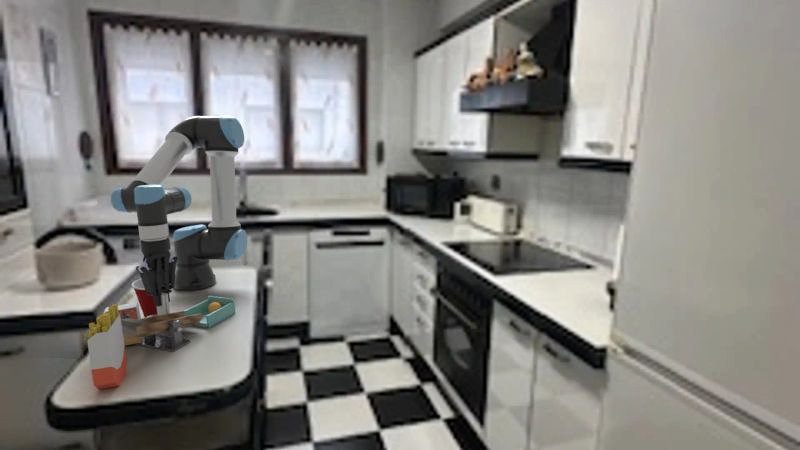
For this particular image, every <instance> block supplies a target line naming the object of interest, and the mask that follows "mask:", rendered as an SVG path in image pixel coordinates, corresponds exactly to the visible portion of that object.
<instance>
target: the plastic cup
mask: <svg viewBox="0 0 800 450" xmlns="http://www.w3.org/2000/svg"><path fill="white" fill-rule="evenodd" d="M131 287H132V289H134V292H135V295H136V297H137V300H138V301H137V302H138V304H139V308H140V310H141V311H142V314H143V318H145V317H147V316H150V315H156V314H157V306H155V303H154V296H150V295H147V294H146V291H145V288H144V285H143V282H142V279H141V278H140V279H139V278H138V279H137V280H134V281H133V282H132V283H131Z"/></svg>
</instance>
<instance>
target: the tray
mask: <svg viewBox="0 0 800 450" xmlns="http://www.w3.org/2000/svg"><path fill="white" fill-rule="evenodd" d="M213 302H217V303H219V304H220V305H221V307H222V308H220V309H218V310H216V311H214V312H212V313H209V311H208V307H209V305H210V304H211V303H213ZM235 304H236V303H235V298H230V297H223V296H216V295H215V296H214V295H208V296H207V299H205V300H204V301H202V302H201V301H200V302H199V303H196V304H195V305H193V306H191V307H189V308H187V309H185V310H183V311H184V317H185V316H190V315H195V314H199V313H202V320H200V323H199V324H194V325H190V326H193V327H200V328H203V329H204V328H205V329H211V328H213V327H214V326H216V325H217V324H220V323H221V322H222V321H224V320H226V319H228V318H230V317H232V316H234V315H235V314H236V306H235Z"/></svg>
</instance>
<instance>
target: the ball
mask: <svg viewBox="0 0 800 450" xmlns="http://www.w3.org/2000/svg"><path fill="white" fill-rule="evenodd" d="M220 308H222V307H221V305H220V304H219V303H217V302H213V303H211V304H210V305H209V307H208V311H209V313H212V312H214V311H216V310H218V309H220Z"/></svg>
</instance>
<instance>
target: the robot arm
mask: <svg viewBox="0 0 800 450" xmlns="http://www.w3.org/2000/svg"><path fill="white" fill-rule="evenodd" d="M244 144H245V133H244V129H243V126H242V124H241V123H240V121H239V120H238V119H237V118H236V117H235V116H232V115H222V114H221V115H202V116H201V115H195V116H194V115H193V116H191V117H188V118H186V119H184V120H182V121H181V122H179V123H178V124H176V125H175V126H174V127H172V129H170V131H169V132H168V133H167V134H166V136H165V138H164V143H163V144H162V145H161V146H160V147H159V148H158V150H157V151H156V152H155V153H154V154H153V156H152V157H151V158H150V159H149V161H148V162H147V163H145V165H144V166H143V168H142V169H141V170H140V171H139V172H138V174H137V175H136V176H135V177H134V179H133V180H132V181H131V182H130V183H129V184H128V186H127V187H119V188H116V189H114V190H113V191H112V192H111V195H110V203H111V206H112V208H114V210H115V211H117V212H121V213H130V214H132V213H136V216H137V226H138V234H139V239H141V240H140V242H139V243H140V251H141V254H143V258H142V263H141V264H140V265H136V267H135V270H136V271H137V273H138V274H139V276H140V279H142V282H143V285H144V288H145V291H146V294H147V295H150V296H154V303H155V306H157V314H158V315H163V314H168V313H171V310H170V301H171V298H170V297H171V296H170V294H171V293H172V292H173V289H175V290H177V291H181V292H182V291H184V292H185V291H187V292H189V291H190V292H191V291H199V290H203V289H206V288H209V287H212V286H214V285H216V283H217V277H216V275H215V273H214V270H213V267H212V266H211V263H210V260H213V261H215V260H216V261H217V260H218V261H236V260H239V259H241V258H242V257H243V256H244V254H245V252H246V250H247V247H248V235H247V232H246V230H244V229H242V227H241V226H242V225H241V223H240V222H239V221H238V220H237V201H236V195H237V194H236V193H237V192H236V171H235V166H236V165H235V163H236V162H235V158H236V156H237V155H238V154H239V149H240V148H242V147H243V146H244ZM199 148H200V149H201V148H202V149H204V153H205V154H206V155H207V156H208V157H209V174H210V176H209V177H210V195H211V196H210V199H211V200H210V201H211V222H209V224H208V225H206V224H196V225H189V226H185V227H181V228H178V229H176V230H174V232H173V235H172V237H173V245H174V254H175V255H172V254H171V251H170V250H171V240H170V238H169V236H170V231H169V224H168V222H169V221H168V215H171V214H174V213H175V214H176V213H180V212H183V211H185V210H187V209H188V208H189V207H190V206H191V204H192V199H193V198H192V194H191V193H190V191H189V190H187V189H186V188H185V187H181V186H179V187H178V186H177V187H176V186H175V187H173V186H172V187H167V188H164V186H163V184H164V183H165V182H166V181H167V179H168V178H169V177H170V175H171V174H172V173H173V171H174V170H175V169H176V168H177V166H178V165H179V163H180V162H181V161H182V160H183V158H184V157H185V156H186V155H189V154H191V153H192V151H193V150H195V149H199Z"/></svg>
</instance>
